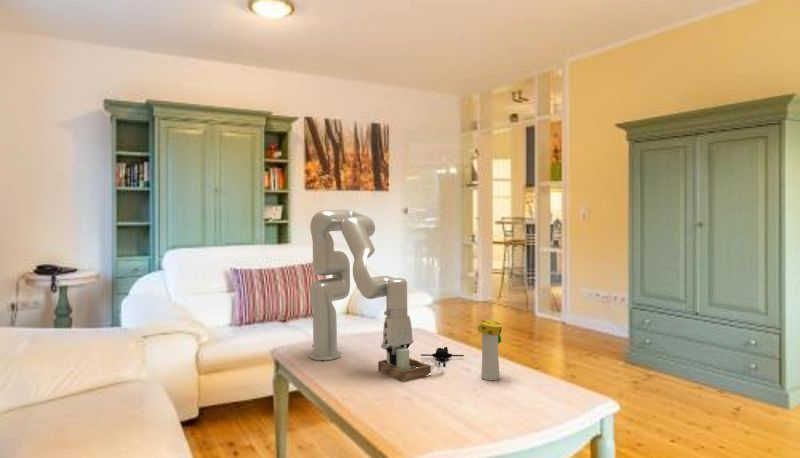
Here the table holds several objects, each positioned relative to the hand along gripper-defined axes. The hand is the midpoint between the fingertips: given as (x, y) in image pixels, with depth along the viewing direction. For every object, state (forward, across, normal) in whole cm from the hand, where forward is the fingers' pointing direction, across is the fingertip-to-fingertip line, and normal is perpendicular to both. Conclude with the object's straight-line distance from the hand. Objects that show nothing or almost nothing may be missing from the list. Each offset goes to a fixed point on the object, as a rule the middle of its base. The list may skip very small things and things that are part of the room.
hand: (397, 363), depth 188 cm
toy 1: (+5, +23, +3) cm, 24 cm away
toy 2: (+4, +24, -23) cm, 33 cm away
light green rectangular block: (+2, 0, 0) cm, 2 cm away
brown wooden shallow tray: (+4, +3, 0) cm, 5 cm away
